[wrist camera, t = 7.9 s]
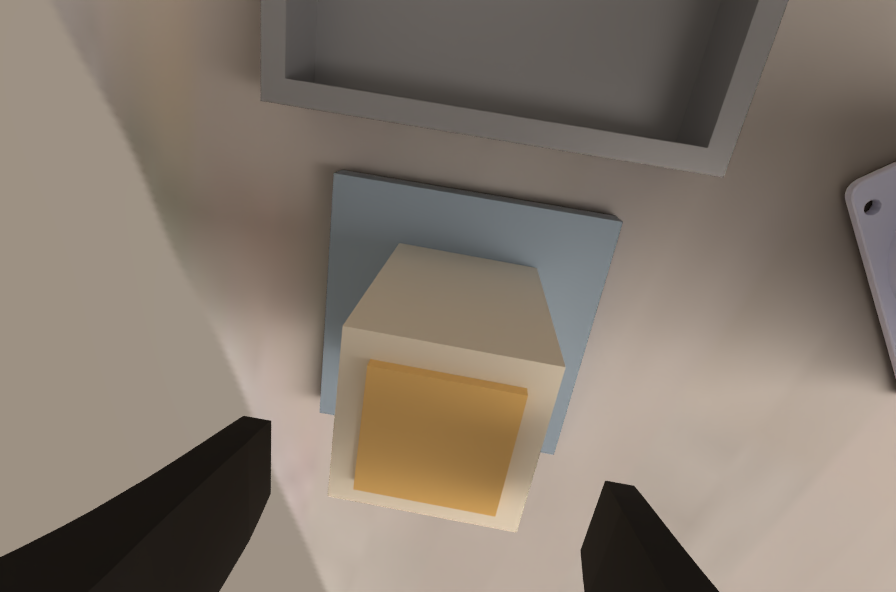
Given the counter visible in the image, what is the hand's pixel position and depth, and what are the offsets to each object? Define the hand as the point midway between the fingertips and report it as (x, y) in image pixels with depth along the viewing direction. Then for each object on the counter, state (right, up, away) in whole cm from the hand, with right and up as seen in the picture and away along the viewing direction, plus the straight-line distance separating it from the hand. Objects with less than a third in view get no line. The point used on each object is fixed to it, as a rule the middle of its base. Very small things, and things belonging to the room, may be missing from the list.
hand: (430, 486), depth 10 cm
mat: (+1, +3, +9) cm, 9 cm away
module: (+1, +3, +8) cm, 8 cm away
